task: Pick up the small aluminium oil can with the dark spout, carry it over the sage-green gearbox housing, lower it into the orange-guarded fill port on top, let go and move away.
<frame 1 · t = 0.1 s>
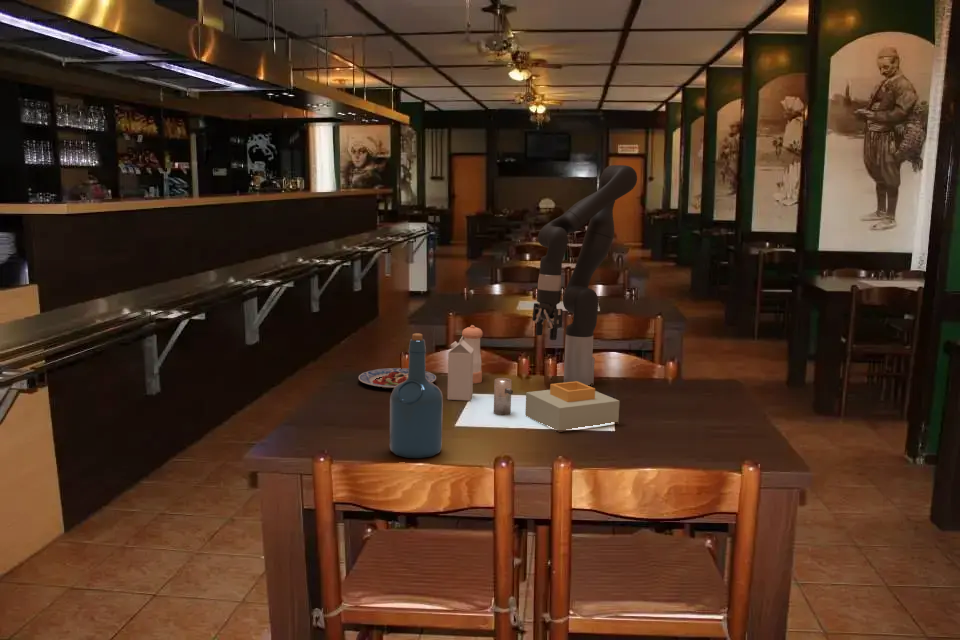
hand: (545, 337, 272), 17 cm above the table, tool pointing down, fingers open, 8 cm apart
pepper shaker: (471, 381, 282), on the table
gearbox housing: (571, 420, 240), on the table
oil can: (502, 413, 245), on the table
wine bottle: (415, 452, 209), on the table
milk carton: (460, 398, 261), on the table
ceramic plate: (397, 383, 278), on the table
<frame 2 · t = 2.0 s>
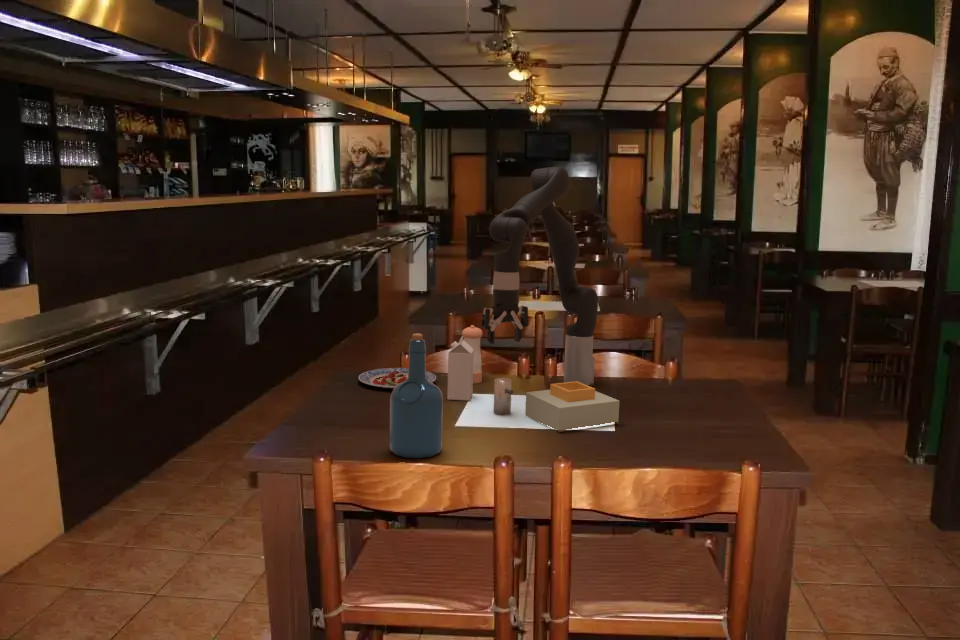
hand: (504, 342, 242), 21 cm above the table, tool pointing down, fingers open, 8 cm apart
nothing on the table moved.
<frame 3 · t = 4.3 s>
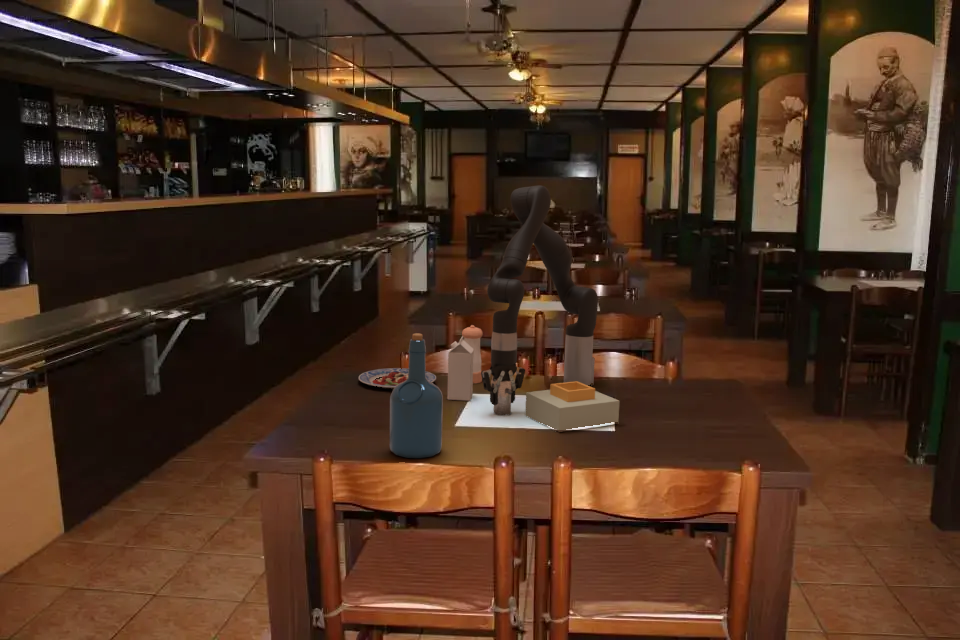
hand: (502, 403, 245), 3 cm above the table, tool pointing down, fingers closed on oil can, 5 cm apart
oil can: (502, 412, 245), on the table, touching gripper
everything else where it was.
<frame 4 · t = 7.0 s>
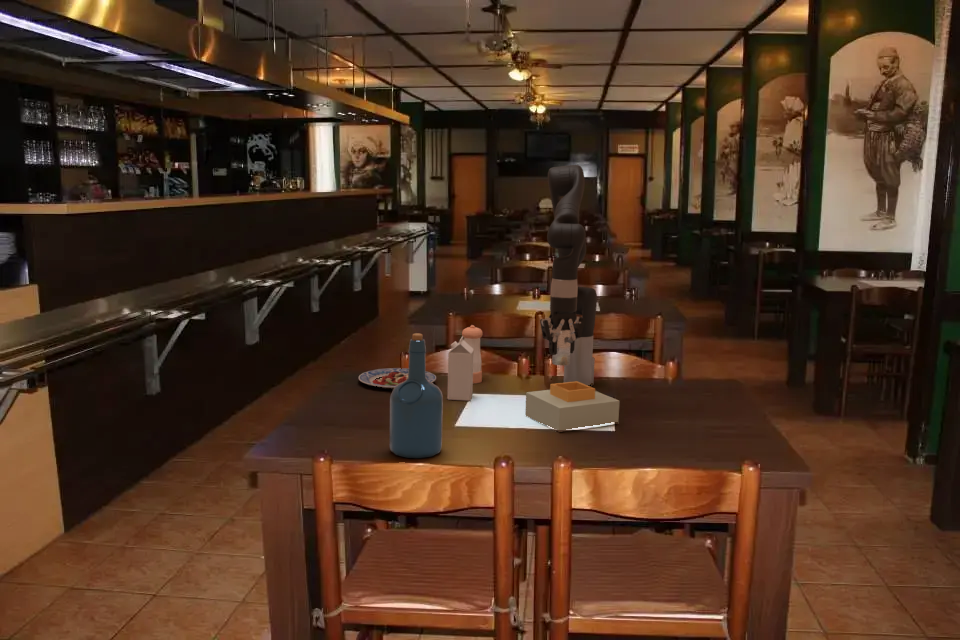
hand: (561, 353, 237), 19 cm above the table, tool pointing down, fingers closed on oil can, 5 cm apart
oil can: (560, 363, 238), point 16 cm above the table, touching gripper
everything else where it was.
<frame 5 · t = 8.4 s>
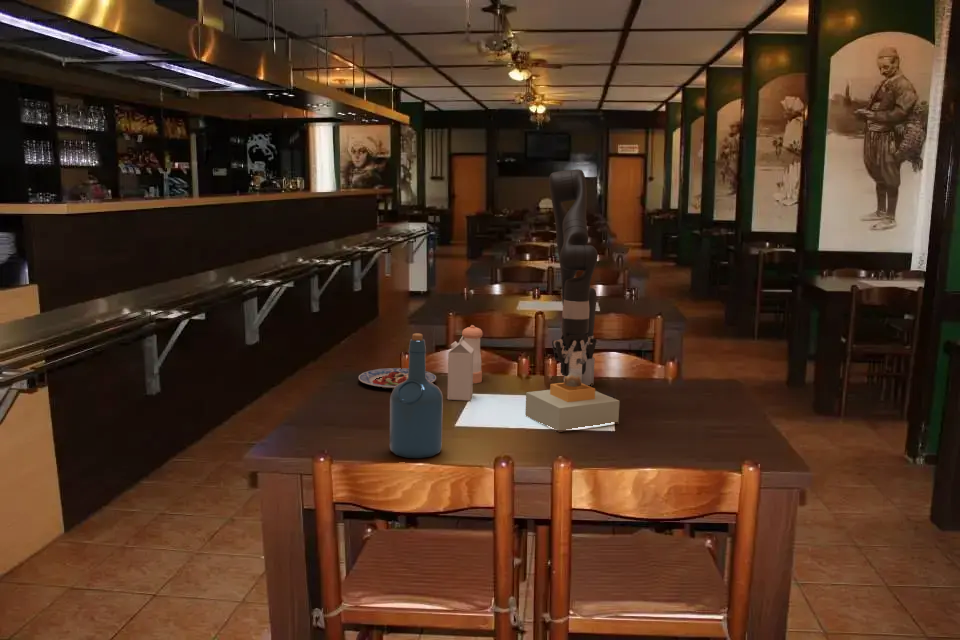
hand: (572, 374, 238), 13 cm above the table, tool pointing down, fingers closed on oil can, 5 cm apart
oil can: (572, 384, 238), point 11 cm above the table, touching gripper
everything else where it was.
when the fingers open (11 cm above the table, at t = 9.7 s): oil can drops 1 cm, resting on gearbox housing.
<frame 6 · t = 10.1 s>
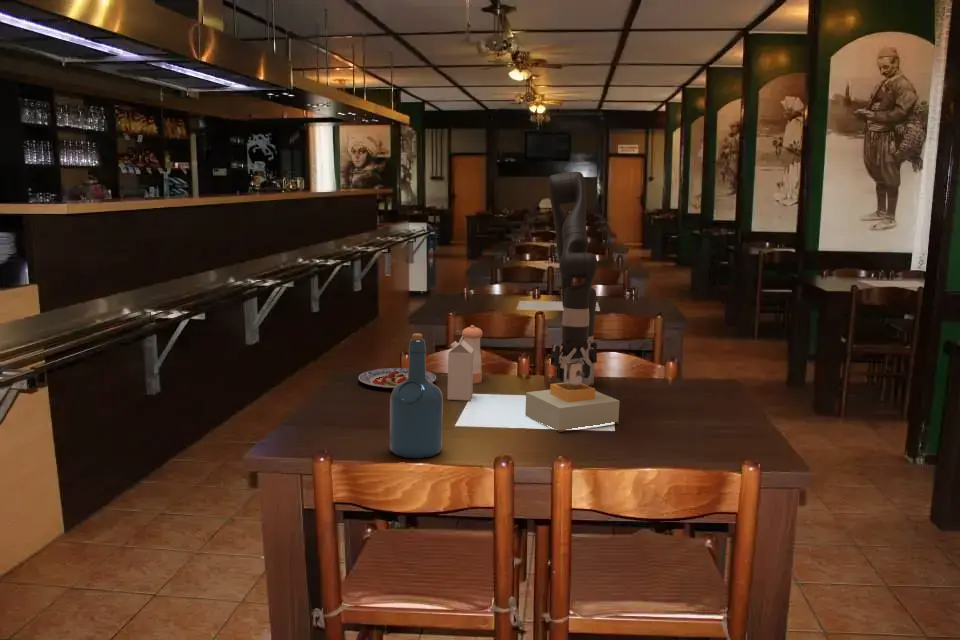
hand: (573, 379, 238), 12 cm above the table, tool pointing down, fingers open, 8 cm apart
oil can: (572, 396, 239), point 7 cm above the table, touching gearbox housing
everything else where it was.
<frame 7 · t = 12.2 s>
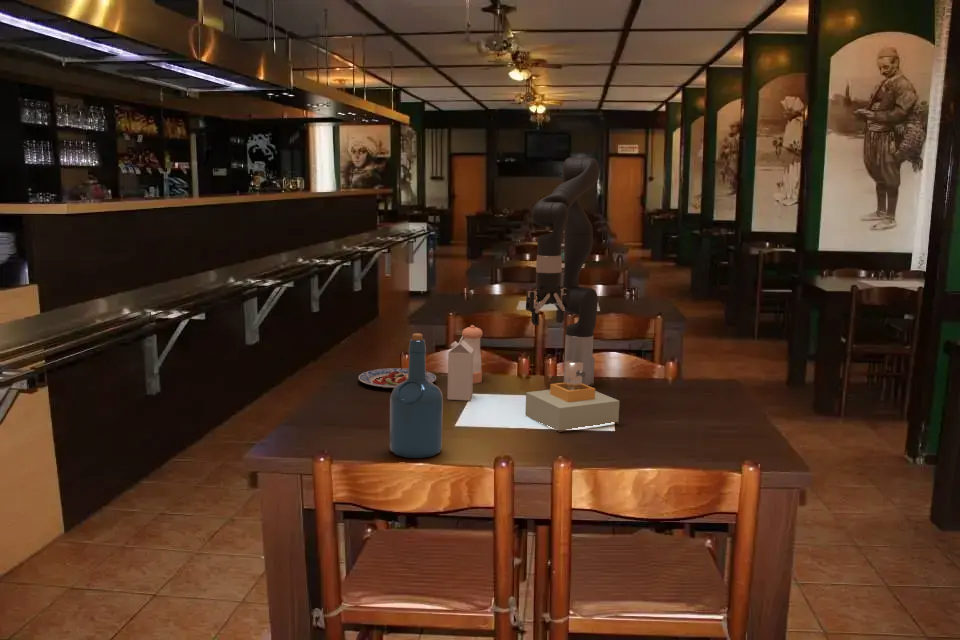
hand: (547, 323, 249), 25 cm above the table, tool pointing down, fingers open, 8 cm apart
nothing on the table moved.
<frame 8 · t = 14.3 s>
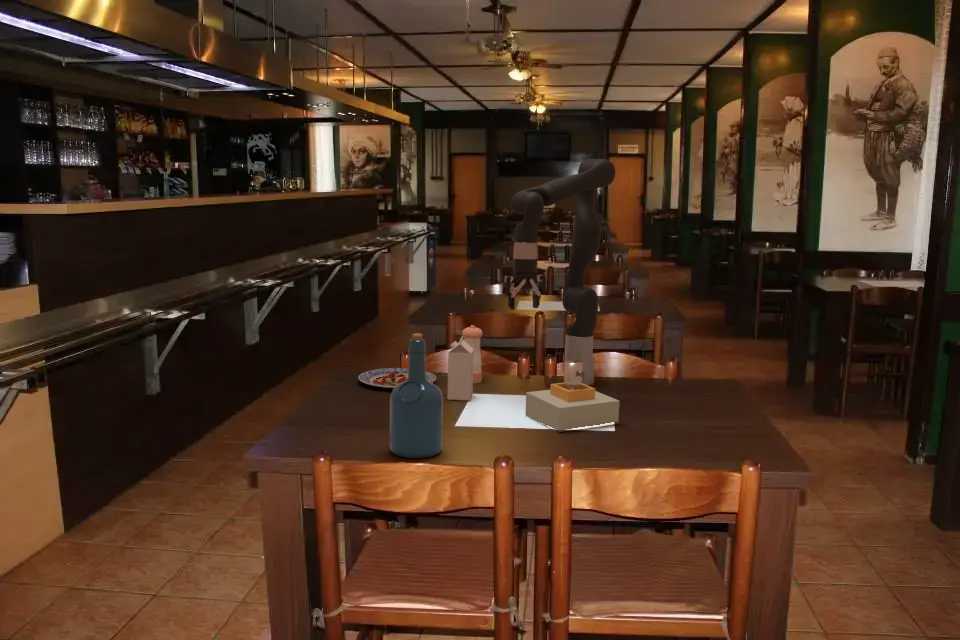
hand: (523, 308, 260), 28 cm above the table, tool pointing down, fingers open, 8 cm apart
nothing on the table moved.
at the end: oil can 0.0 cm off-centre on the gearbox housing, point 7.0 cm above the gearbox housing's base; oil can tilted 1°; the gripper is holding nothing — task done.
